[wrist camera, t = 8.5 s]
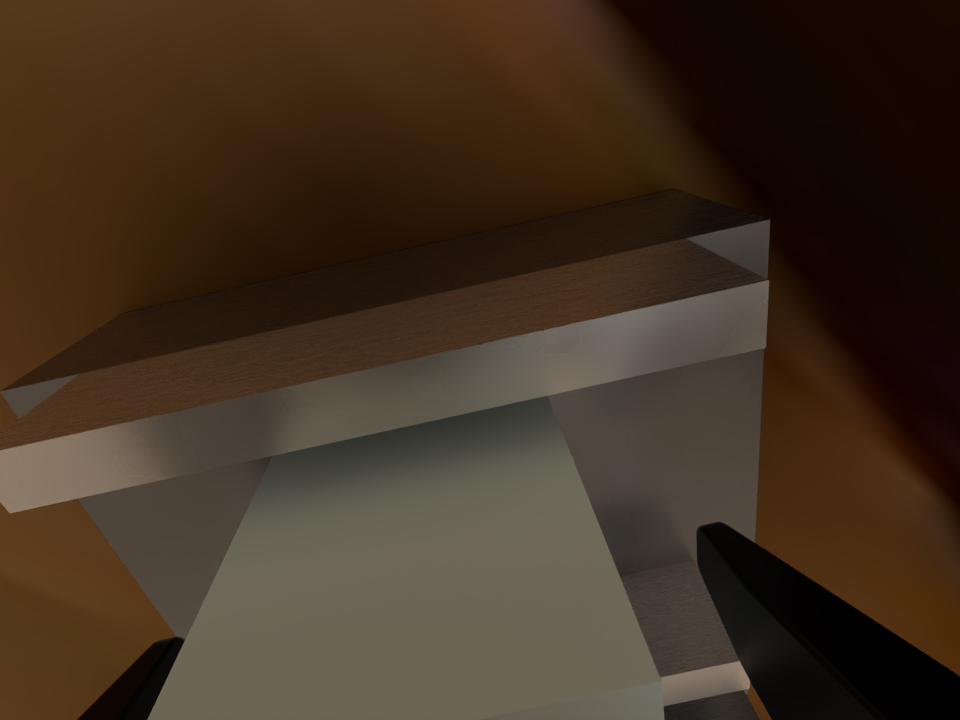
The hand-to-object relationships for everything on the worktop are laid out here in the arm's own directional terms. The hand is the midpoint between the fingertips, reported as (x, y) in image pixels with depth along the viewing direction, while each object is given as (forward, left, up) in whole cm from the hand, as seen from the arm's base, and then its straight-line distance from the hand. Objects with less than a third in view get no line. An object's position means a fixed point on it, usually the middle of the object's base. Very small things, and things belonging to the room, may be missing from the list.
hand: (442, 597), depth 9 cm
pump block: (0, 0, -2) cm, 3 cm away
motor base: (0, +2, -6) cm, 7 cm away
